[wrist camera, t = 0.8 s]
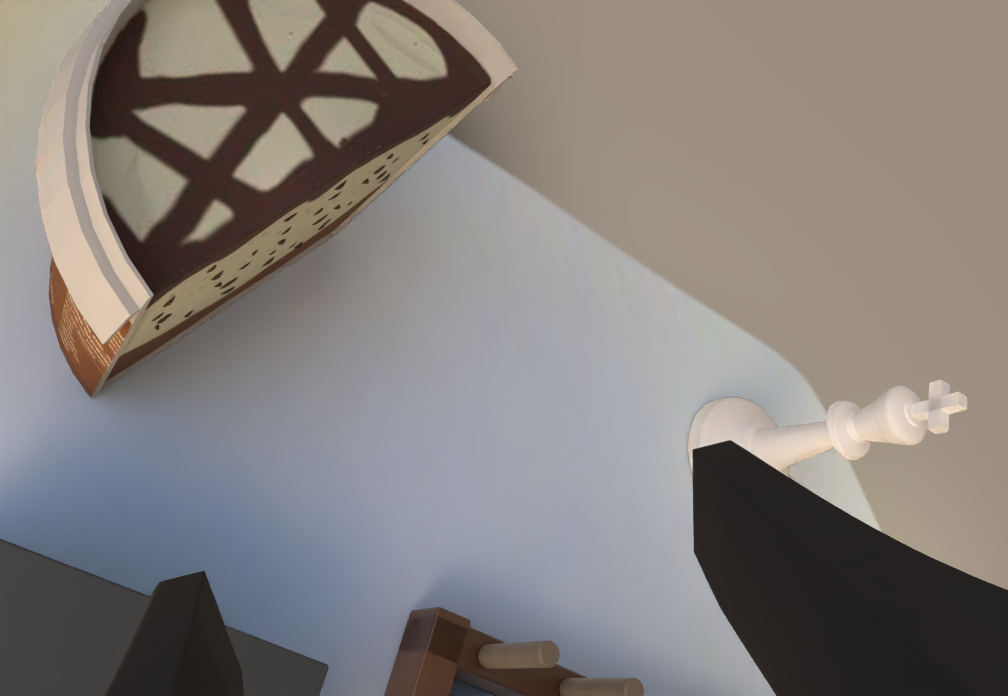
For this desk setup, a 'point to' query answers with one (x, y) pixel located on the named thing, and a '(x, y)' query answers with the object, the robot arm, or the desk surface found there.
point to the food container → (231, 151)
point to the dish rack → (486, 663)
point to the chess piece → (826, 425)
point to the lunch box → (104, 634)
